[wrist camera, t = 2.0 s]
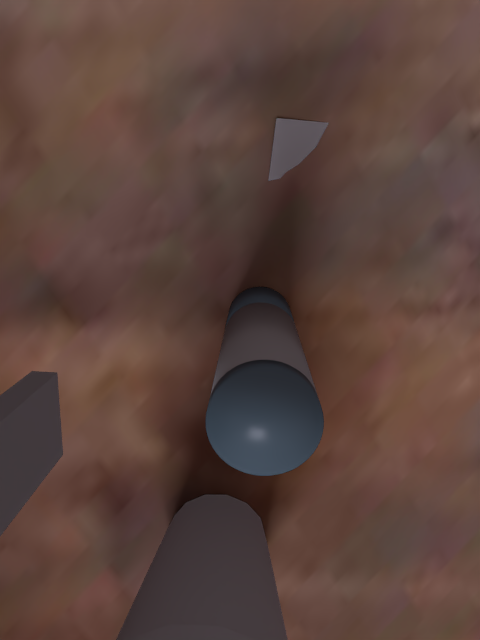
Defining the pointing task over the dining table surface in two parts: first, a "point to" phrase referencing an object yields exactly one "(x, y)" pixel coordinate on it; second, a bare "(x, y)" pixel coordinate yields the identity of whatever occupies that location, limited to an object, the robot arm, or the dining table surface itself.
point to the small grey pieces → (293, 144)
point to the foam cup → (209, 578)
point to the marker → (263, 389)
